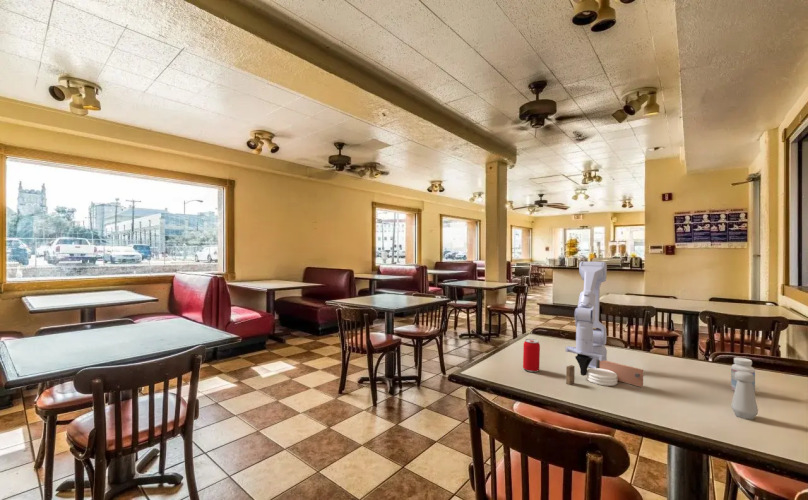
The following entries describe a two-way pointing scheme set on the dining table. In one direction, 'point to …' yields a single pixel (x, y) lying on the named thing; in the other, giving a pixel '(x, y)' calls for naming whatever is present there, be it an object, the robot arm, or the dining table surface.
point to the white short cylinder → (602, 376)
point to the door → (624, 372)
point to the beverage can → (531, 355)
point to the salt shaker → (744, 396)
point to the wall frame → (571, 371)
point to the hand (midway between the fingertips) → (583, 375)
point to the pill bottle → (741, 365)
